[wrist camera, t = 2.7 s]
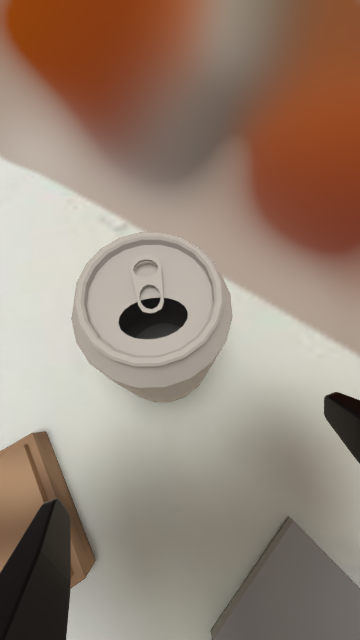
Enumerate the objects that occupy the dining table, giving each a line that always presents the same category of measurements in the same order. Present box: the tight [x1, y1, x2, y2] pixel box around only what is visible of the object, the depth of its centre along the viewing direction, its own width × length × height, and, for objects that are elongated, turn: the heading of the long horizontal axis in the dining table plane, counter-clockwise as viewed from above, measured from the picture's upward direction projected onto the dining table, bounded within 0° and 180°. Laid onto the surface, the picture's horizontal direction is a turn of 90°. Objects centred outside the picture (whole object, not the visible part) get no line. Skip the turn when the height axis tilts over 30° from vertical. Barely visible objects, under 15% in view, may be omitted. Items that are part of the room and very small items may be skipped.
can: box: [72, 232, 232, 402], centre depth 16 cm, size 8×8×12 cm
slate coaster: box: [211, 517, 360, 640], centre depth 16 cm, size 8×8×1 cm
